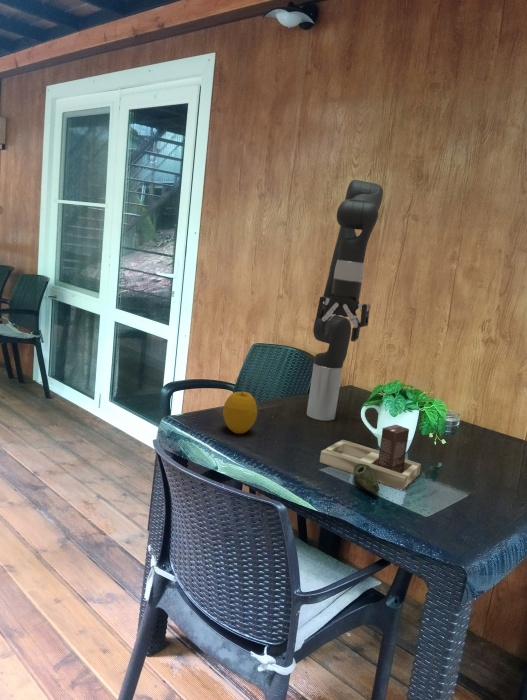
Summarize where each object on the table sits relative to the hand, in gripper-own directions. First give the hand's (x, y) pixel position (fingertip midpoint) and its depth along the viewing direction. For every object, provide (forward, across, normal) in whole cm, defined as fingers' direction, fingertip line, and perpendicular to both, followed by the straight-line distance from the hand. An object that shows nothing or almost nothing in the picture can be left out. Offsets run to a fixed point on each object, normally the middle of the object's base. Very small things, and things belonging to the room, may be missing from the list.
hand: (338, 338), depth 155 cm
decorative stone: (+30, +21, -19) cm, 41 cm away
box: (+30, +22, -8) cm, 38 cm away
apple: (+30, -21, -12) cm, 39 cm away
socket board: (+30, +17, -8) cm, 35 cm away
